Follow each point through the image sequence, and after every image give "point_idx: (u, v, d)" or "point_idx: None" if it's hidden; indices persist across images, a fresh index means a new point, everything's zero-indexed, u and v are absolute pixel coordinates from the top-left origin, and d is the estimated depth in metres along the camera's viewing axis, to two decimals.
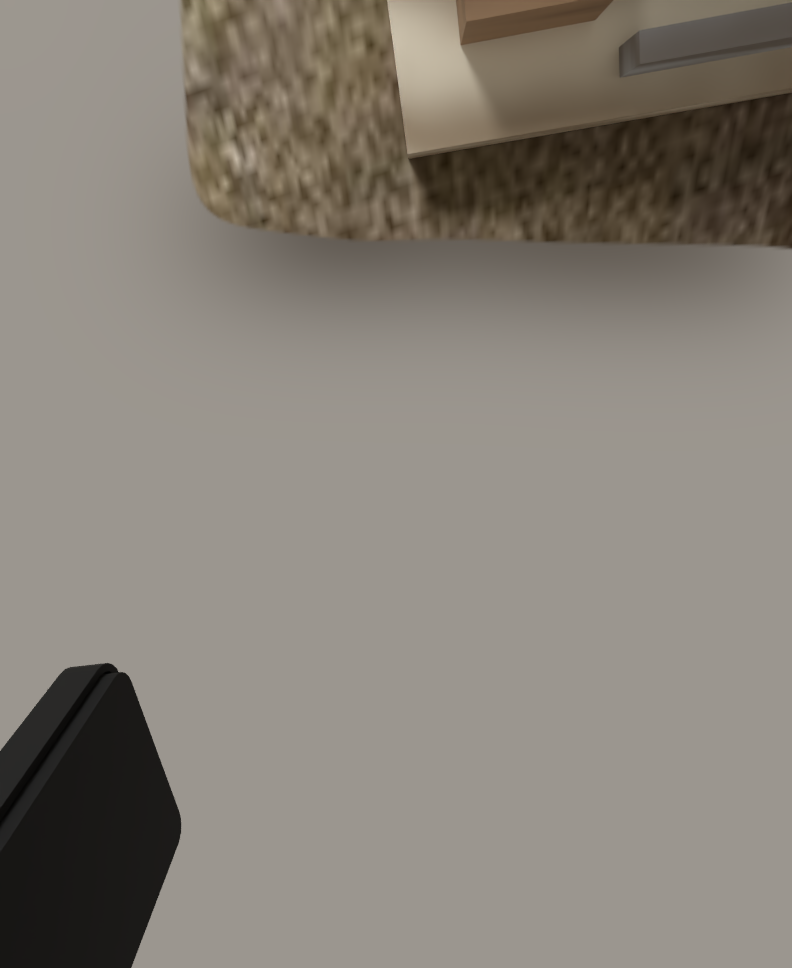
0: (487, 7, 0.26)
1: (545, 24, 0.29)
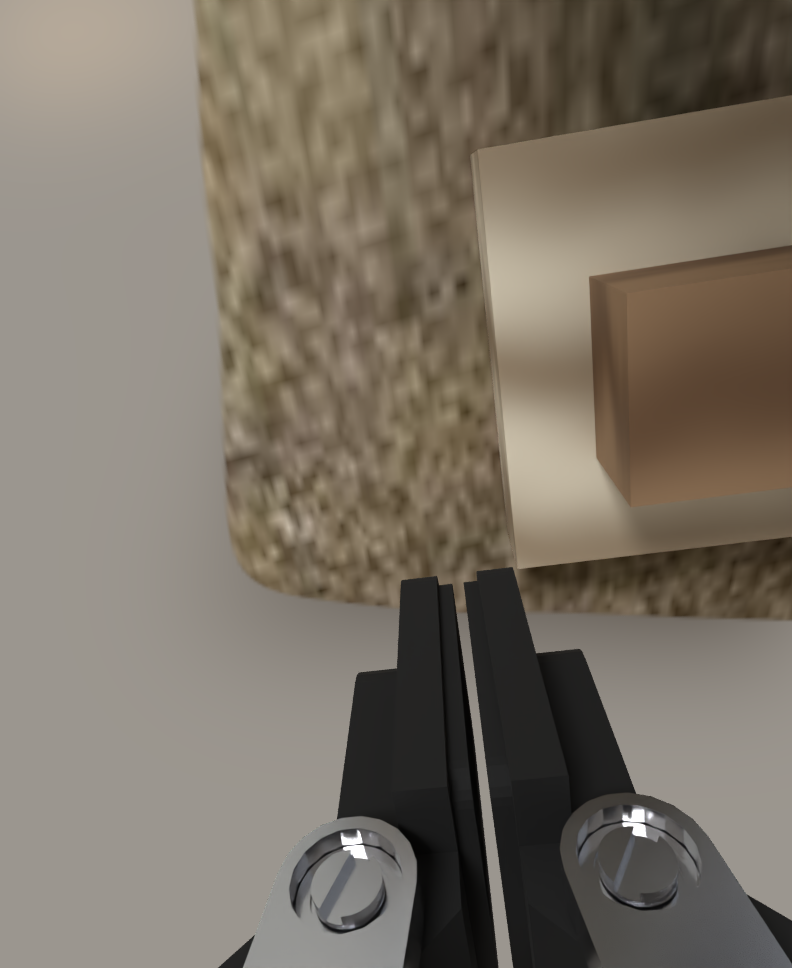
0: (661, 492, 0.19)
1: None
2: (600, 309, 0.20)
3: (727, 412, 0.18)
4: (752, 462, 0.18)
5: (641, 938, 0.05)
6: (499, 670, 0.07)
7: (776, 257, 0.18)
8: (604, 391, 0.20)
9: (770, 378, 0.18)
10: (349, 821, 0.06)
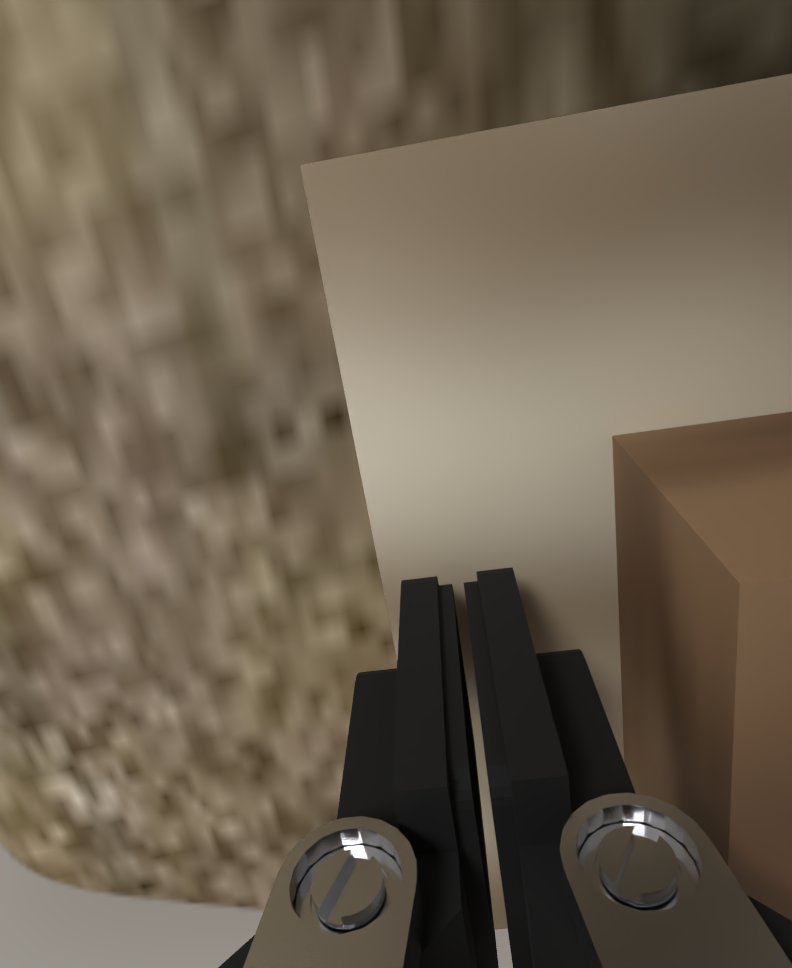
0: None
1: None
2: (641, 527, 0.08)
3: None
4: None
5: (641, 938, 0.05)
6: (499, 670, 0.07)
7: None
8: (648, 692, 0.09)
9: None
10: (349, 821, 0.06)
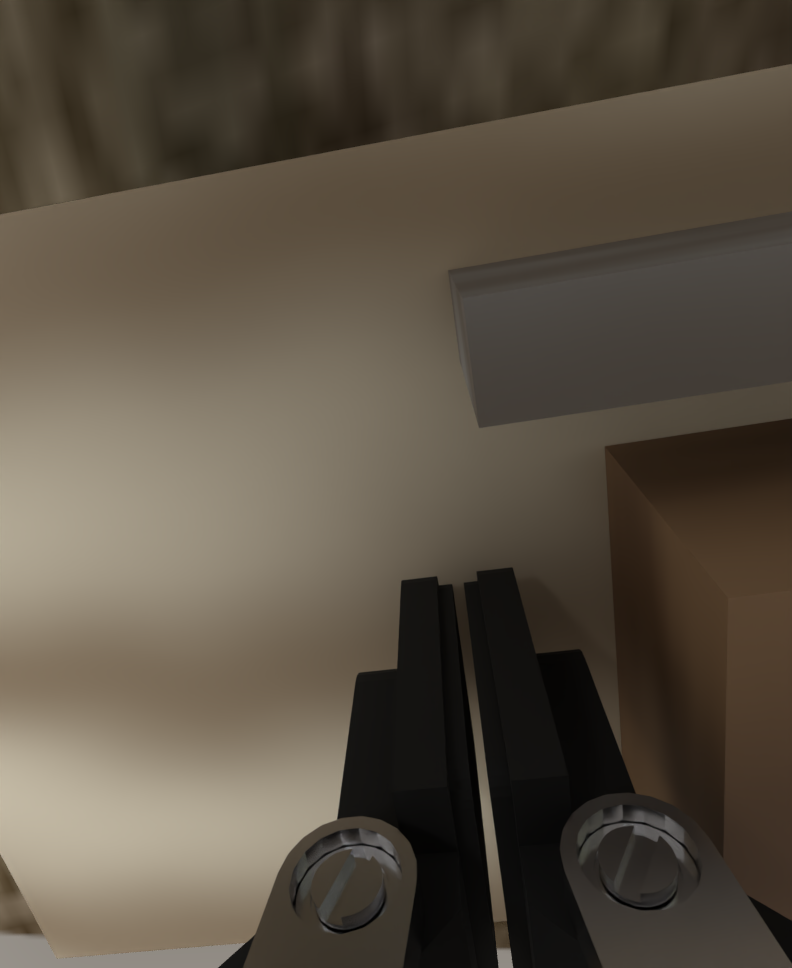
0: None
1: None
2: (634, 537, 0.09)
3: None
4: None
5: (641, 937, 0.05)
6: (499, 670, 0.07)
7: None
8: (644, 698, 0.09)
9: None
10: (349, 821, 0.06)
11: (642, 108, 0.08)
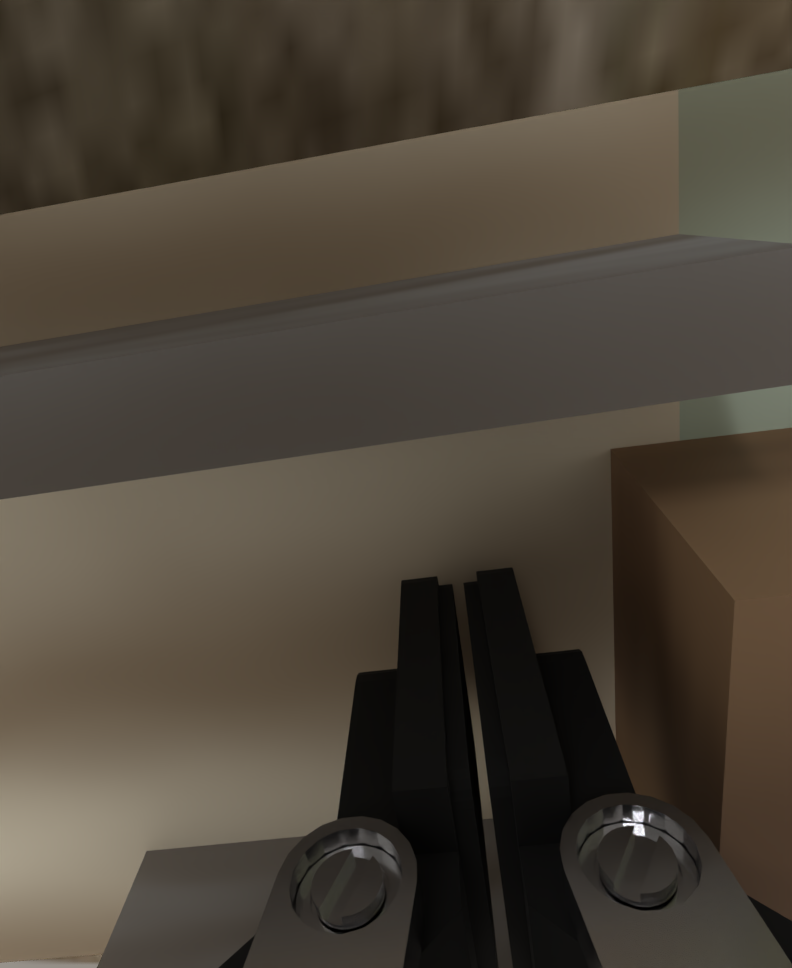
0: None
1: None
2: (638, 540, 0.09)
3: None
4: None
5: (641, 937, 0.05)
6: (498, 670, 0.07)
7: None
8: (641, 700, 0.09)
9: None
10: (349, 821, 0.06)
11: (76, 215, 0.09)
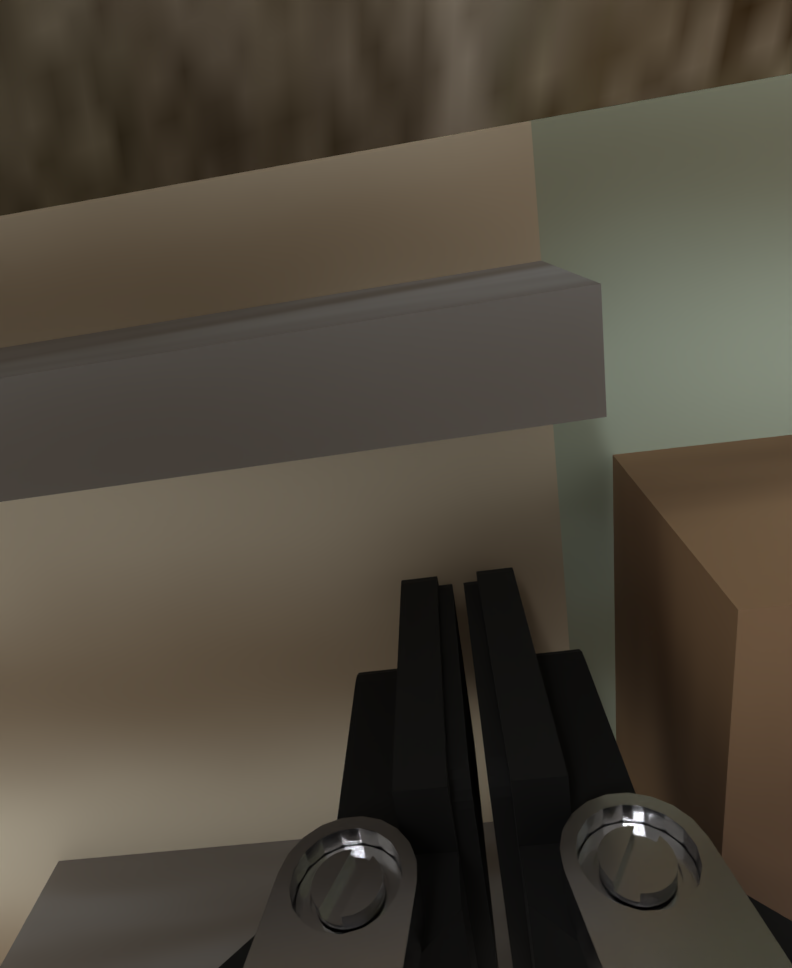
0: None
1: None
2: (640, 546, 0.09)
3: None
4: None
5: (641, 938, 0.05)
6: (499, 670, 0.07)
7: None
8: (643, 707, 0.09)
9: None
10: (349, 821, 0.06)
11: None
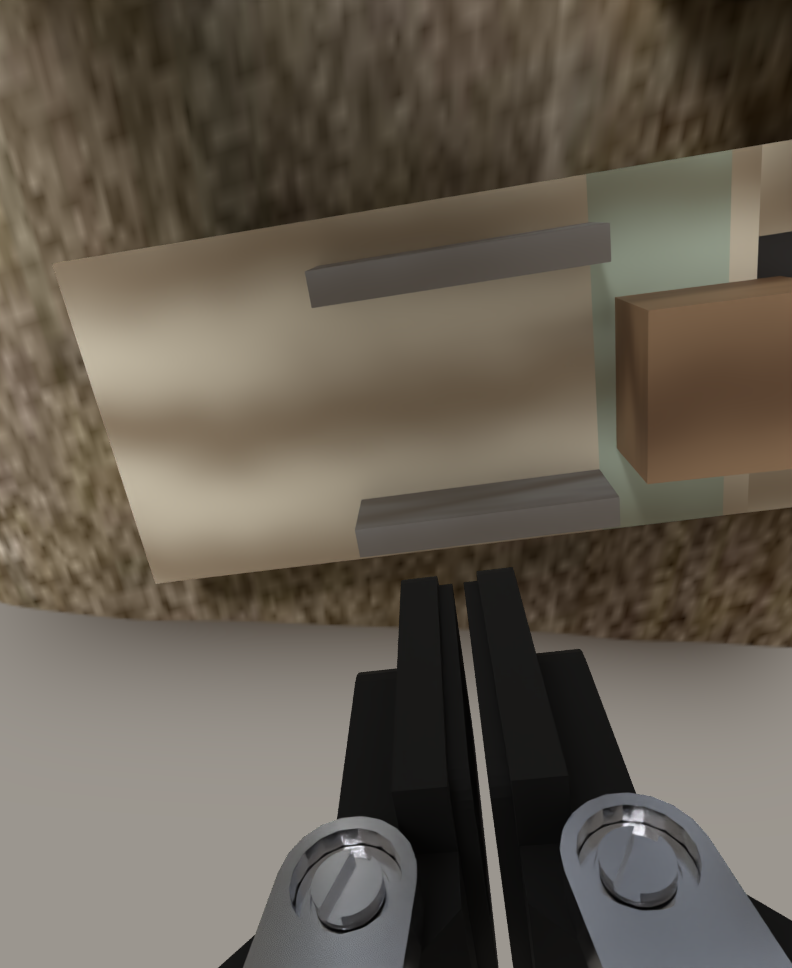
0: (672, 471, 0.23)
1: None
2: (624, 323, 0.24)
3: (726, 407, 0.22)
4: (746, 449, 0.23)
5: (641, 938, 0.05)
6: (499, 670, 0.07)
7: (767, 285, 0.23)
8: (626, 391, 0.25)
9: (761, 380, 0.22)
10: (349, 821, 0.06)
11: (377, 214, 0.24)
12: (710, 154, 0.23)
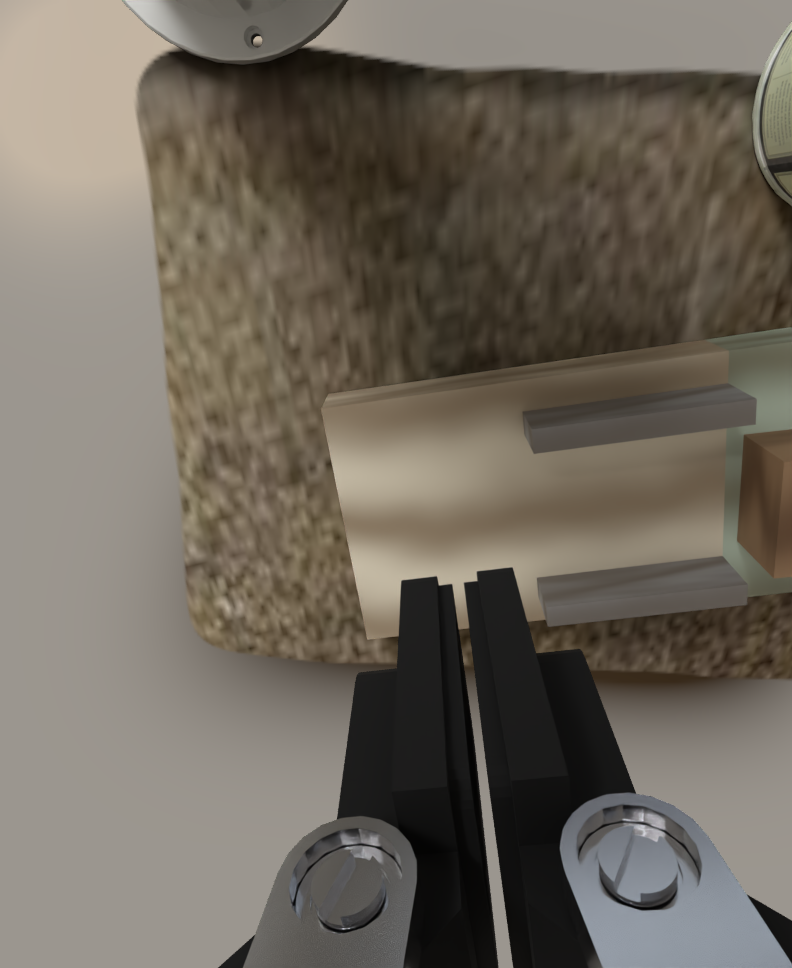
0: None
1: None
2: (754, 458, 0.33)
3: None
4: None
5: (641, 938, 0.05)
6: (499, 670, 0.07)
7: None
8: (752, 505, 0.33)
9: None
10: (349, 821, 0.06)
11: (571, 376, 0.33)
12: None
